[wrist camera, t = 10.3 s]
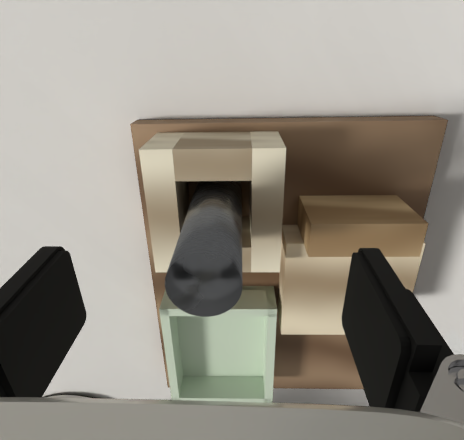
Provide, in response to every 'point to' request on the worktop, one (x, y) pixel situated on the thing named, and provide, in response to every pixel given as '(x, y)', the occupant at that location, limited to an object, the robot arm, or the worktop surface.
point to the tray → (222, 349)
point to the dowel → (208, 252)
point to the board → (319, 173)
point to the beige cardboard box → (321, 286)
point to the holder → (216, 169)
